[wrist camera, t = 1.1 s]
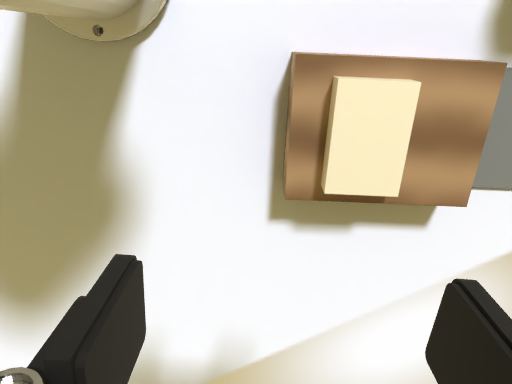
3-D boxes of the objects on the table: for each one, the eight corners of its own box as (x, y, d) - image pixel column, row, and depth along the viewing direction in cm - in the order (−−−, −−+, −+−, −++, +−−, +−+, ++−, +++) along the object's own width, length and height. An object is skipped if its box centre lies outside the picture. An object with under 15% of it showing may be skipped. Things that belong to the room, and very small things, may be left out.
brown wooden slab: (292, 51, 32) (296, 53, 28) (478, 60, 32) (507, 63, 28) (282, 182, 36) (284, 199, 33) (445, 189, 36) (466, 206, 33)
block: (333, 76, 29) (338, 78, 27) (411, 79, 29) (421, 82, 27) (320, 184, 32) (324, 193, 30) (390, 187, 32) (397, 196, 30)
